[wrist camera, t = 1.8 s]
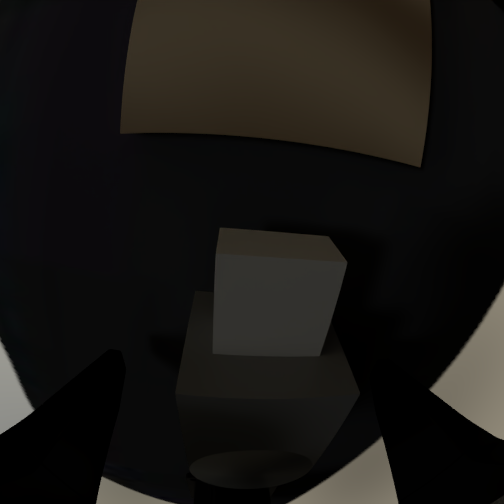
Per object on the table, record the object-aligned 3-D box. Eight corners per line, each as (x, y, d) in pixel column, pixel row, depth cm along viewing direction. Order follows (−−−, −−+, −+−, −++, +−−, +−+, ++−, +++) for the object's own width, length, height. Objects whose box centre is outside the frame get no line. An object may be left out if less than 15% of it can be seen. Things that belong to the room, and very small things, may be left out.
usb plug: (285, 412, 12) (297, 486, 8) (199, 409, 12) (193, 486, 8) (337, 221, 8) (405, 297, 4) (196, 209, 8) (163, 287, 4)
